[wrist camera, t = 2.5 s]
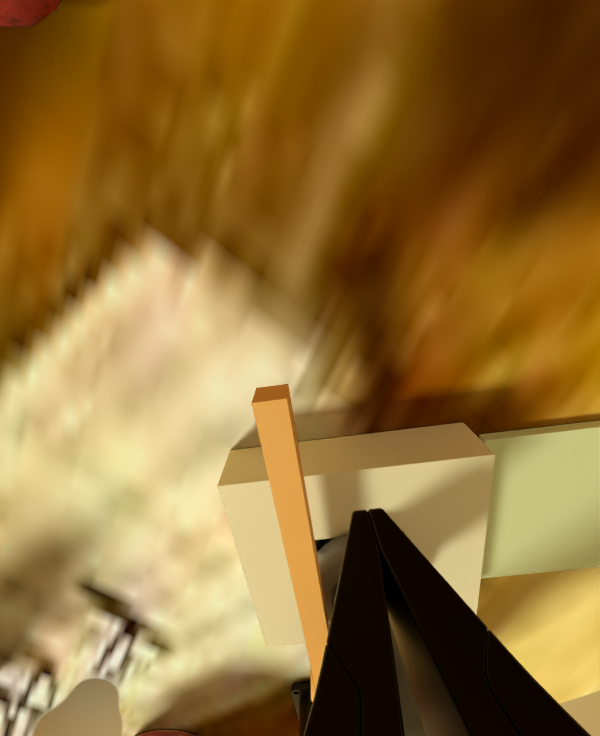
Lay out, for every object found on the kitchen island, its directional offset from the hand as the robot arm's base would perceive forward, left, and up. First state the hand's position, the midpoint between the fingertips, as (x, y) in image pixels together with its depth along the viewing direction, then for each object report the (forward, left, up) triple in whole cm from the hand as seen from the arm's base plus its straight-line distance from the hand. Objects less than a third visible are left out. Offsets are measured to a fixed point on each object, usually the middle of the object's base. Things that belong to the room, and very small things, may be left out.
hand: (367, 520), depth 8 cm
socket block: (-10, 0, -9) cm, 13 cm away
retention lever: (-7, +3, -4) cm, 9 cm away
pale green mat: (-10, -14, -9) cm, 20 cm away
